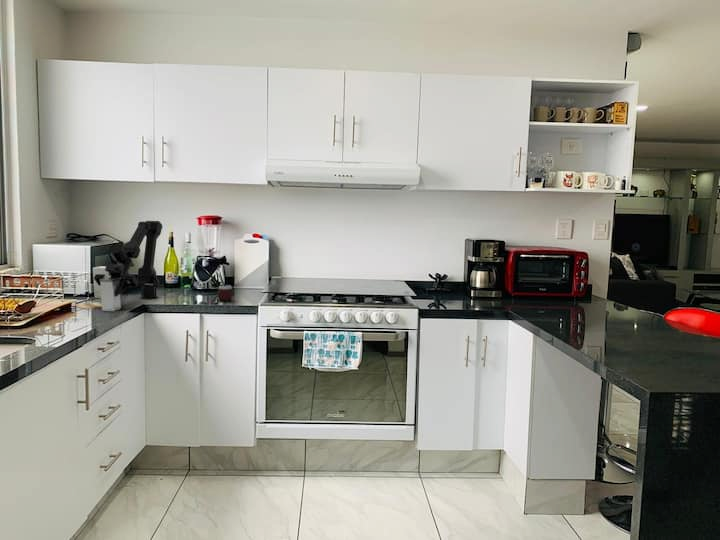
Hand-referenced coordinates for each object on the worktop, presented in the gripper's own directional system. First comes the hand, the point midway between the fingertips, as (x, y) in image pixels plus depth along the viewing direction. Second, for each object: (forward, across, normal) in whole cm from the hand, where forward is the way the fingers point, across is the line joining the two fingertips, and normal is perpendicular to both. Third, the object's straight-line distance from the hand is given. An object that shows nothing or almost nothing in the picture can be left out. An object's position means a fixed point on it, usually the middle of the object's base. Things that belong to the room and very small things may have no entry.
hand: (109, 295), depth 239 cm
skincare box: (-17, -22, +27) cm, 39 cm away
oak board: (-1, -14, +11) cm, 18 cm away
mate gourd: (-19, +40, +29) cm, 53 cm away
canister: (+4, 0, +6) cm, 7 cm away
